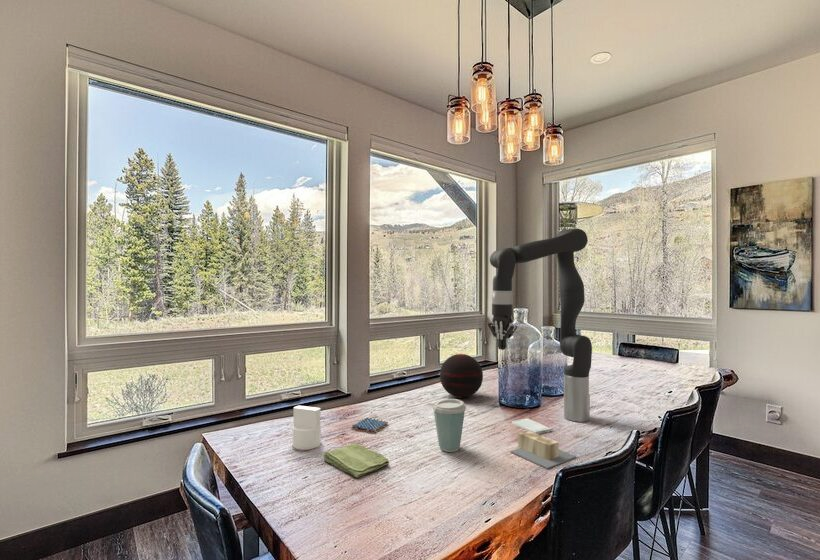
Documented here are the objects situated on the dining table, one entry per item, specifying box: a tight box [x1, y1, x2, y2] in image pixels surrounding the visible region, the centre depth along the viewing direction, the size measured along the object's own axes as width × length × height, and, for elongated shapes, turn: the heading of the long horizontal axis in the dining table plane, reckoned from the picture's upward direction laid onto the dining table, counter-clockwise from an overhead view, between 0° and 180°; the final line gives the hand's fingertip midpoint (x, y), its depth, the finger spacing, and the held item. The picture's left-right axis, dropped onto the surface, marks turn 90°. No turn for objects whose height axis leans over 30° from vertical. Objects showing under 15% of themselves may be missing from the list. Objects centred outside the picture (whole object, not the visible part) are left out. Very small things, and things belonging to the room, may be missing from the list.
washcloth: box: [323, 443, 390, 479], centre depth 124 cm, size 13×18×3 cm
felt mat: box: [510, 447, 577, 470], centre depth 130 cm, size 14×14×1 cm
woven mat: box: [351, 417, 389, 435], centre depth 153 cm, size 10×11×2 cm
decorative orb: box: [439, 353, 484, 399], centre depth 194 cm, size 20×20×20 cm
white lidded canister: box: [292, 405, 322, 451], centre depth 137 cm, size 9×9×12 cm
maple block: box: [517, 430, 560, 460], centre depth 131 cm, size 4×4×12 cm
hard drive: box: [511, 417, 553, 435], centre depth 154 cm, size 2×8×12 cm
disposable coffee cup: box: [432, 398, 466, 453], centre depth 135 cm, size 11×11×15 cm
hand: (501, 349), depth 154 cm, fingers closed
